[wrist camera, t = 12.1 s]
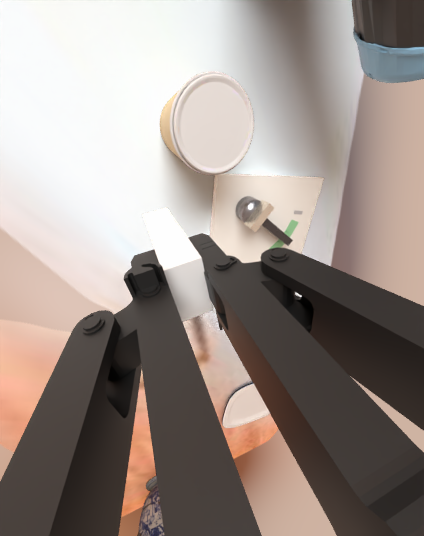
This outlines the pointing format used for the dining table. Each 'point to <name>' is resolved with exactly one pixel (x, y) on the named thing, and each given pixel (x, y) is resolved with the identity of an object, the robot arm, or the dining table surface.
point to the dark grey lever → (259, 217)
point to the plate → (244, 407)
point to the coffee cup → (208, 123)
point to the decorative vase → (151, 512)
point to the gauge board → (283, 216)
